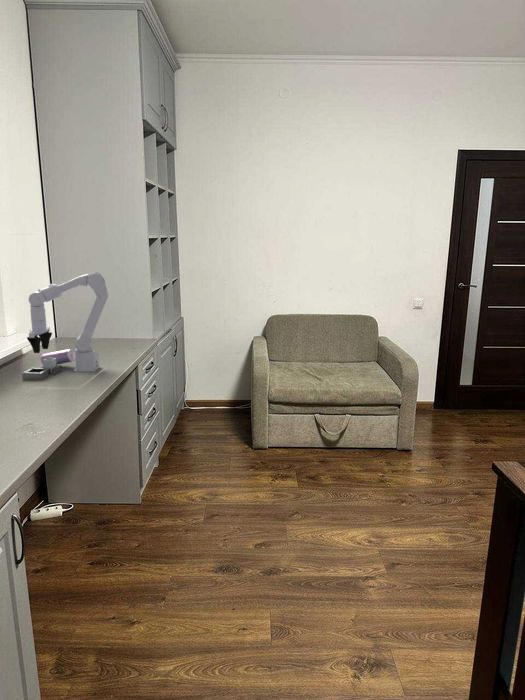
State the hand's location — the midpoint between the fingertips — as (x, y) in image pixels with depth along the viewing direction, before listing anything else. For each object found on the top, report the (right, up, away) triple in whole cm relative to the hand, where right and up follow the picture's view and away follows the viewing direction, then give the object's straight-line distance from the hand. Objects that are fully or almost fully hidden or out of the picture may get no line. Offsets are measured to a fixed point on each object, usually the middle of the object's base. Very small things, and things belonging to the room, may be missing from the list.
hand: (41, 350), depth 209 cm
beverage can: (-3, -4, +10) cm, 12 cm away
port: (+2, -12, -8) cm, 14 cm away
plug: (+4, -9, 0) cm, 10 cm away
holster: (+4, -10, 0) cm, 11 cm away
